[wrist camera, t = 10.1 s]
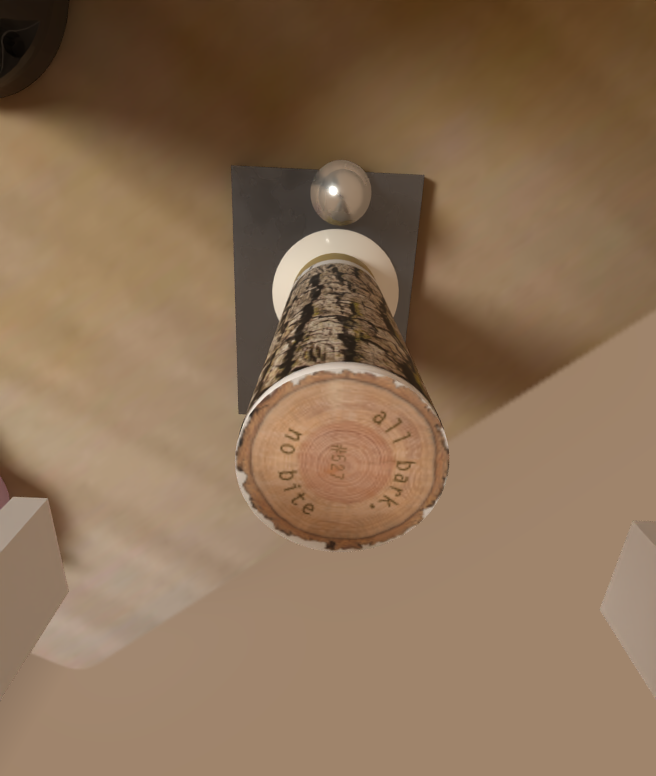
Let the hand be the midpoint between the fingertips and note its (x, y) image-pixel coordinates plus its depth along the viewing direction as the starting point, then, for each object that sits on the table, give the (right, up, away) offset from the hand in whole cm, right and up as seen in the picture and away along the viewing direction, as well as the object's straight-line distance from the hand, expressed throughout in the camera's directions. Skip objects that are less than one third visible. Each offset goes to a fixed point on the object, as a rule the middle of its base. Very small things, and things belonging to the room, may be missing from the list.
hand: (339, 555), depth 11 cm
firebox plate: (-1, +11, +29) cm, 31 cm away
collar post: (+1, +18, +24) cm, 30 cm away
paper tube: (0, +11, +27) cm, 30 cm away
